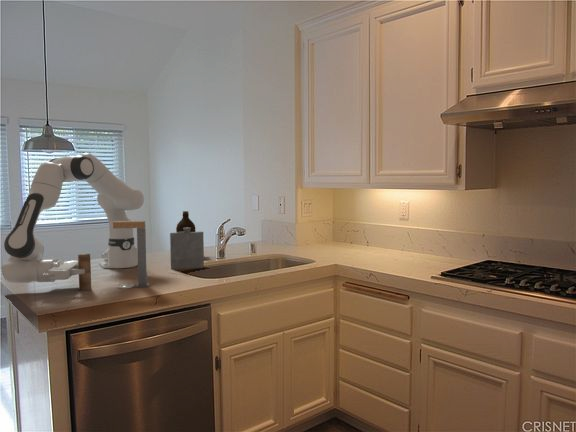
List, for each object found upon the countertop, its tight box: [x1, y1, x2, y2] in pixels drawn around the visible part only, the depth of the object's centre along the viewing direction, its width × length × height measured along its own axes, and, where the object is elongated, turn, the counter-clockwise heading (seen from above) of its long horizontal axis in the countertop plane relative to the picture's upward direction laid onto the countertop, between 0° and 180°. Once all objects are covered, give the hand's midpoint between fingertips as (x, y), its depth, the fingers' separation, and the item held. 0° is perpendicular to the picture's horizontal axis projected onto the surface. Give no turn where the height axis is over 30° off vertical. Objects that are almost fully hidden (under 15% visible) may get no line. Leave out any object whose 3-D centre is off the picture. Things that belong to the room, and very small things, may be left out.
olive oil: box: [175, 210, 196, 233], centre depth 264 cm, size 11×11×25 cm
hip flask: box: [169, 227, 205, 270], centre depth 227 cm, size 16×4×20 cm, turn 109°
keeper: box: [113, 220, 150, 290], centre depth 189 cm, size 13×7×26 cm, turn 101°
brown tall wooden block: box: [77, 253, 92, 292], centre depth 185 cm, size 4×4×14 cm
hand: (87, 269), depth 185 cm, fingers open, 5 cm apart
